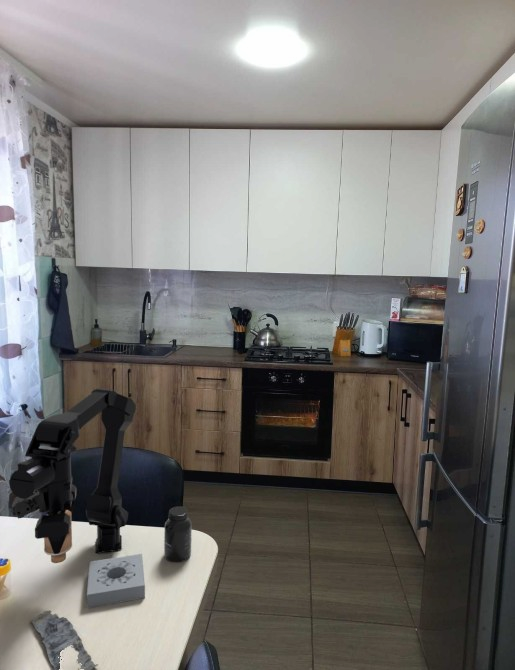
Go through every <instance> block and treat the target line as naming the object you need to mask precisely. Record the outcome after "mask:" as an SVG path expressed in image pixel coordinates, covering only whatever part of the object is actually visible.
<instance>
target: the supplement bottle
mask: <svg viewBox="0 0 515 670" xmlns="http://www.w3.org/2000/svg"><path fill="white" fill-rule="evenodd" d="M192 525H193V524H192V521H191V519H190V518H189V510H188V508H186V507H184V506H173V507H171V508H170V509H169V511H168V519H167V520H166V521H165V523H164V532H163V533H164V534H163V535H164V540H163V541H164V543H163V544H164V545H163V546H164V547H163V548H164V549H163V553H164V555H163V556H164V557H165V559H166V560H167V561H169V562H171V563H180V562H184V561H186V560H187V559H189V558H190V556H191V553H192Z"/></svg>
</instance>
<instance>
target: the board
mask: <svg viewBox="0 0 515 670" xmlns="http://www.w3.org/2000/svg"><path fill="white" fill-rule="evenodd" d="M143 561H144V560H143V553H139V554H132V555H127V556H126V555H125V556H120V557H111V558H106V559H97V560H90V561H89V567H88V568H89V570H88V578H87V579H88V580H87V590H86V609H88V608H95V607H99V606H106V605H112V604H117V603H123V602H130V601H133V600H139V599H140V600H141V599H145V598H146V583H145V572H144V571H145V570H144V562H143Z"/></svg>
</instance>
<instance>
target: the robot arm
mask: <svg viewBox="0 0 515 670" xmlns="http://www.w3.org/2000/svg"><path fill="white" fill-rule="evenodd" d="M136 409H137V407H136V403H135V402H134V400H133V398H131V397H127V396H125V395H122V394H121V393H117V392H116V391H114V390H113V389H109V388H94V389H93V390H92V391H91V393H90V394H89V395H87V396H86V397H84V398H83V399H81V401H79V402H78V403H76V404H75V405H73V406H72V407H71V408H70V409H68V410H67V411H65V412H63V413H60V414H53V415H51V416H49V417H47V418H44V419H43V420H41V421H40V422H39V423H38V424H37V426H36V428H35V431H34V433H33V435H32V437H31V440H30V442H29V445H28V447H27V450H26V452H25V454H24V456H25V457H26V458H27V457H29V459H27V460H25V461H21V462H19V463H18V464H17V469H16V470H15V471H13V473H12V474H11V475H10V478H9V480H8V483H9V488H10V490H11V492H12V494H13V495H14V496H16V497H15V498H14V499H13V502H12V504H11V507H12V515H13V516H16V517H17V519H22V518H24V517H25V516H27V515H29V514H32V513H33V512H36V511H39V512H38V513H39V514H40V513H46V514H47V515H46V514H45V515H41V517H40V518H39V519H37V522H36V524H35V527H34V537H35V539H39V540H40V539H44V538H48V539H49V542H50V544H51V547H52V550H53V553H54V554H59V553H60V551H61V548H62V546H63V543H64V541H65V538H66V536H67V534H69V530H70V525H71V522H70V516H69V515H68V514H66V513H65V512H66V510H69V511H70V512H71V515H72V513H73V512H74V508H75V503H76V501H75V500H76V498H77V486H76V485H75V484H73V475H72V456H71V455H72V453H74V452H76V451H77V447H76V446H75V445H73V444H74V443H75V442H76V441H77V439H79V437H80V432H81V429H82V428H83V427H84V426H86V425H87V424H88V423H89V422H90V421H91V420H93V419H94V418H95V417H96V416H97V415H99V414H100V413H101V414H100V420H101V422H102V425H103V427H104V429H105V432H104V439H103V445H102V446H103V447H102V454H101V459H100V466H99V473H98V479H97V480H98V481H97V487H96V488H95V489H94V491H93V492H92V493H90V494H88V495H87V501H86V508H85V509H84V510H85V514H86V518H87V522H88V524H89V526H96V532H97V533H96V535H97V536H96V539H95V548H94V549H95V550H94V552H95V554H100V553H107V552H115V551H121V550H122V549H123V548H122V547H123V545H122V544H123V543H122V538H123V537H122V535H121V528H124V527H125V526H126V525H127V522H128V518H129V511H127V510H126V509H124V508H123V507H122V506H123V505H122V504H123V497H122V495H121V493H120V490H119V487H118V484H119V476H120V470H121V469H120V468H121V462H122V454H123V448H124V447H123V446H124V439H125V433H126V430H127V428H128V427H129V426H130V425H131V424H132V422H133V419H134V415H135V412H136ZM40 447H44V448H40ZM45 447H46V448H45ZM48 448H49V449H48ZM50 448H52V449H50ZM52 513H53V514H52ZM59 513H60V514H59Z"/></svg>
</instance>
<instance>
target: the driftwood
mask: <svg viewBox="0 0 515 670" xmlns="http://www.w3.org/2000/svg"><path fill="white" fill-rule="evenodd" d="M29 623H30V624H31V623H32V624H33V626H34V628H35V630H36V631H37V632H38V633H39V634H40V636H41V638H40V642H42V643H43V644H44V646H45V649H46V652H47V656H48V657H47V658H48V659H49V662H50V664H51V666H53V669H54V670H59V669H60V663H59V662H60V657H61V656H60V652H61V651H62V650H64V651H65V648H66V649H67V647H68V648H69V647H70V648H71V649H74V651H77V652H78V654H77V657H78V659H76V662H77V661H78V662H79V663H81V664H82V665H81V664H80V667H81V668H80V667H79V668H80V669H84V670H92V669H94V668H95V667H97V666H99V664H98V663H97V664H95V662H93V661H92V657H91V655H90V654H88V651H87V650H86V649H85V648H84V644H83V641H82V638H80V636H79V635H78V632H77V630H76V629H75V628H74V625H73V624H72V622H71V621H69V620H68V618H67V617H65V616H62V617H59V615H58V614H57V613H53V614H52V610H51V609H50V610H48V609H47V610H44V611H42V612H40V613H38V614H37V615H36V616H35V617H34V618H32V619H31V620H30V621H29ZM58 657H59V658H58ZM61 660H62V659H61ZM79 663H78V664H79Z"/></svg>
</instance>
